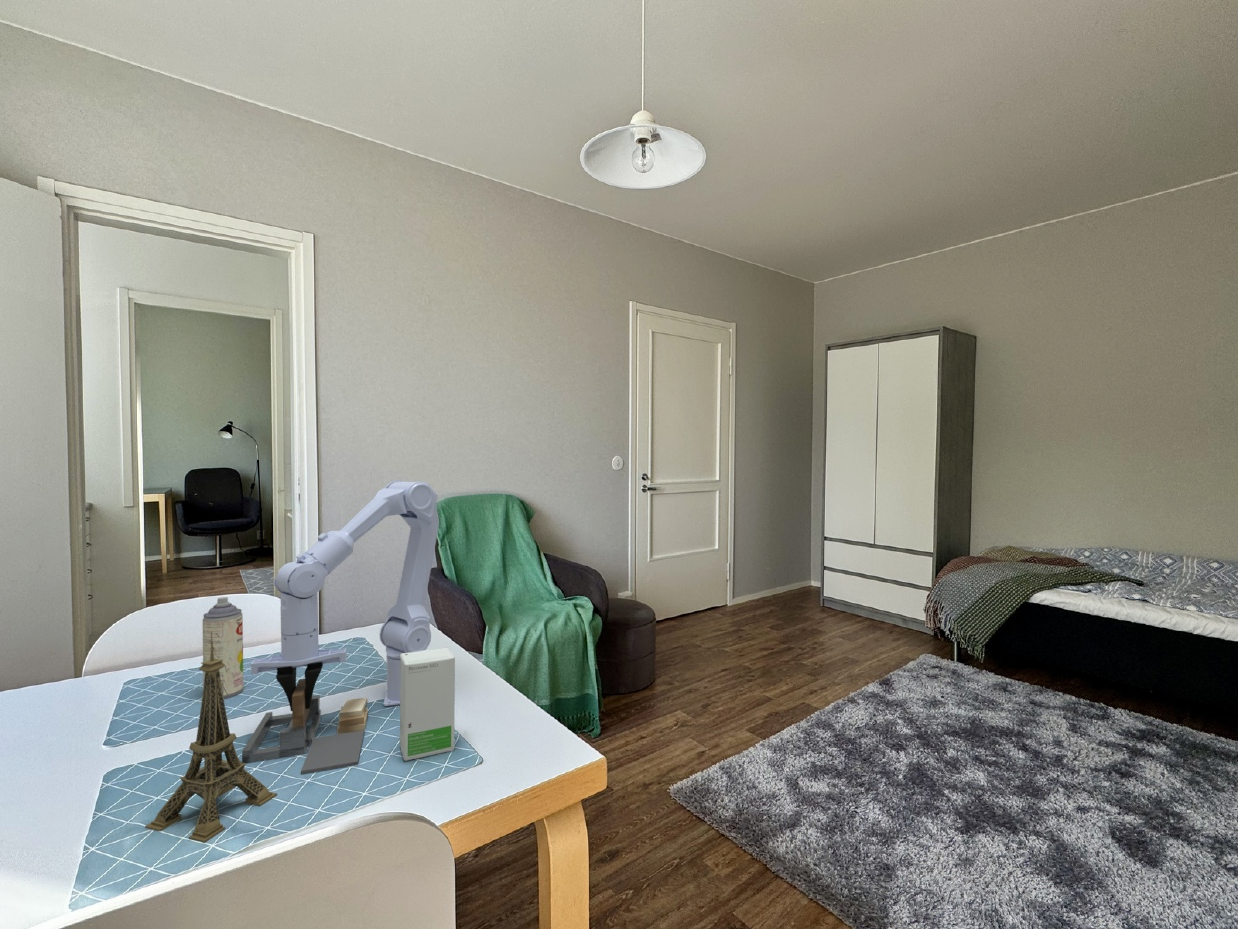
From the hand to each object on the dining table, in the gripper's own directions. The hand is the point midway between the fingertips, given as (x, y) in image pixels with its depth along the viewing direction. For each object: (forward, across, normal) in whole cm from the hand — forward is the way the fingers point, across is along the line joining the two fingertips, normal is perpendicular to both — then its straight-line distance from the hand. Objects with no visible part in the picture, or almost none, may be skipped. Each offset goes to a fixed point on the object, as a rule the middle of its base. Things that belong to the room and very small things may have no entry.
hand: (301, 707), depth 99 cm
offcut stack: (+5, -8, -1) cm, 10 cm away
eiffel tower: (+5, +8, +20) cm, 22 cm away
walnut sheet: (+2, 0, 0) cm, 2 cm away
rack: (+5, +2, 0) cm, 5 cm away
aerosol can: (+5, +18, -27) cm, 33 cm away
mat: (+5, -6, +9) cm, 12 cm away
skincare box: (+5, -20, +13) cm, 25 cm away
